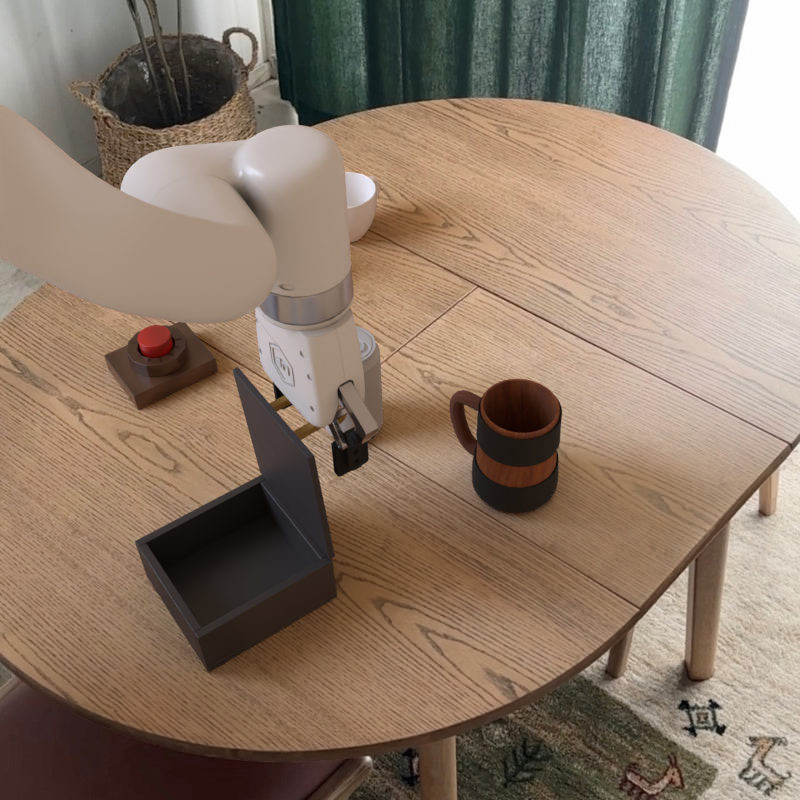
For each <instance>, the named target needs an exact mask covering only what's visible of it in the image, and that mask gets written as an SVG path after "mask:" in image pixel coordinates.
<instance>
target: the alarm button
mask: <svg viewBox="0 0 800 800" xmlns="http://www.w3.org/2000/svg"><path fill="white" fill-rule="evenodd" d="M141 330H142V331H141ZM141 330H140V331H141V332H140V333H139V334H138V343H139V346H140V350H141V353H142V354H143V355H144V356H146V357H149V358H159V357H163V356H165V355H167V354H168V353H169V352H170V351H171V350H172V348H173V342H172V338H171V334H170V331H169V329H168V328H166V327H165V326H162V325H161V324H153V325H149V326H145V328H143V329H141Z"/></svg>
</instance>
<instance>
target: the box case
mask: <svg viewBox="0 0 800 800" xmlns="http://www.w3.org/2000/svg"><path fill="white" fill-rule="evenodd" d="M134 544H135V547H136V549H137V552H138V555H139V558H140V561H141V564H142V566H143V569H144V572H145V575H146V578H147V580H148V581H149V582H150V584H151V585H152V587H153V588H154V591H155V592H156V593H157V595H158V597H159V598H160V600H161V601H162V602H163V604H164V606H165V607H166V609H167V610H168V612H169V613H170V615H171V616H172V619H174V621H175V623H176V625H177V626H178V628H179V629H180V631H181V633H182V634H183V635H184V637H185V639H186V640H187V642H188V643H189V644H190V646H191V648H192V649H193V651H194V652H195V654H196V656H197V657H198V659H199V660H200V662H201V664H202V665H203V667H204V668H205V670H206V671H207V673H211V672H213V671H215V670H216V669H217V668H219V667H221V666H223V665H224V664H226V663H228V662H229V661H231V660H233V659H234V658H236V657H238V656H240V655H241V654H243V653H245V652H246V651H248V650H250V649H251V648H253V647H255V646H256V645H258V644H260V643H261V642H263V641H265V640H266V639H269V638H270V637H272V636H273V635H275V634H276V633H279V632H280V631H282V630H283V629H285V628H287V627H288V626H290V625H292V624H294V623H296V622H297V621H298V620H300V619H302V618H304V617H305V616H307V615H309V614H310V613H312V612H314V611H315V610H317V609H319V608H320V607H323V606H324V605H325V604H327V603H329V602H330V601H331V602H332V600H334V599H335V598H337V597H338V593H337V584H336V575H335V568H334V567H335V566H334V561H333V558H332V559H331V560H330V559H329V558H328V557H327V556H326V554H325V553H324V552H323V551H322V549H321V548H320V547H319V546H318V544H317V543H316V542H315V541H314V539H313V538H312V537H311V536H310V534H309V533H308V532H307V531H306V529H305V528H304V527H303V526H302V524H301V523H300V522H299V521H298V519H297V518H296V517H295V516H294V514H293V513H292V512H291V511H290V509H289V508H288V507H287V506H286V504H285V503H284V502H283V501H282V499H281V498H280V497H279V496H278V494H277V493H276V492H275V490H274V489H273V488H272V487H271V485H270V484H269V483H268V482H267V480H266V479H265V478H264V477H263V475H262V474H260V475H258V476H256V477H254V478H253V479H250V480H248V481H246V482H245V483H243V484H240V485H239V486H237V487H235V488H233V489H231V490H229V491H227V492H225V493H224V494H222V495H220V496H218V497H216V498H214V499H212V500H209V502H207V503H204V504H203V505H201V506H199V507H197V508H195V509H193V510H192V511H190V512H189V511H188V512H187V513H186V514H184V515H182V516H180V517H178V518H176V519H174V520H173V521H170V522H168V523H167V524H164V525H163V526H161V527H159V528H157V529H155V530H153V531H151V532H149V533H148V534H146V535H144V536H142V537H140V538H138V539H136V540H134Z"/></svg>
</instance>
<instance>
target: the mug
mask: <svg viewBox="0 0 800 800" xmlns="http://www.w3.org/2000/svg"><path fill="white" fill-rule="evenodd" d="M448 405H449V407H448V408H449V416H450V422H451V425H452V429H453V431H454V434H455V437H456V438H457V440H458V442H459V444H460V445H461V446H462V448H463V449H464V450H465V451H466V452H467V453H468V454H469V455H471V456H473V458H472V461H471V483H472V487H473V489H474V491H475V493H476V495H477V496H478V497H479V498H480V499H481V500H482V501H483V503H485V504H487V505H488V507H490V508H492V509H494V510H496V511H498V512H501V513H504V514H510V515H521V514H528V513H530V512H533V511H535V510H538V509H540V508H541V507H543V506H544V505H546V504H547V503H548V502H550V500H551V499H552V498H553V496H554V495H555V493H556V491H557V487H558V481H559V466H560V465H559V463H560V460H559V459H560V457H559V451H558V449H559V446H560V444H561V431H562V419H563V408H562V404H561V402H560V400H559V398H558V397H557V396H556V395H555V394H554V392H553V391H552V390H551V389H549V388H548V387H546V386H545V385H543V384H541V383H539V382H537V381H535V380H531V379H526V378H509V379H504V380H501V381H498V382H496V383H494V384H492V385H491V386H490V387H488V388H487V389H486V390H485V392H484V393H483V394H482V396H480V395H477V394H476V393H474V392H472V391H470V390H466V389H465V390H464V389H461V390H457V391H456V392H453V394H452V395H451V397H450V399H449V404H448ZM465 406H466V407H468V408H470V409H473V410H474V411H476V412H477V416H476V430H475V431H476V432H475V434H476V438H475V436H474V435H473V433H472V430H471V428H470V426H469V423H468V420H467V415H466V412H465Z"/></svg>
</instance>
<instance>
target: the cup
mask: <svg viewBox="0 0 800 800" xmlns="http://www.w3.org/2000/svg"><path fill="white" fill-rule="evenodd" d="M345 183H346V197H347V211H348V225H349V239H350V243H355V242H357V241H359V240H361V239H362V238H363V237H364V236H365V235H366V233H368V231H369V230H370V228H371V227H372V225H373V222H374V219H375V216H376V212H377V207H378V205H377V203H378V199H379V196H380V190H381V186H380V181H379V178H377V177H376V176H373V175H369V176H367V175H365V174H363V173H359V172H353V171H345Z"/></svg>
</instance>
